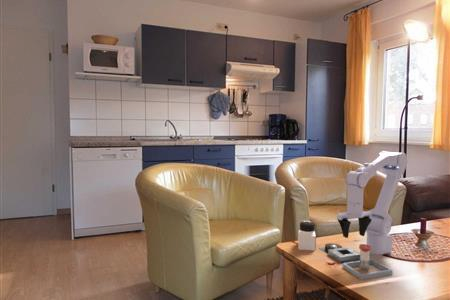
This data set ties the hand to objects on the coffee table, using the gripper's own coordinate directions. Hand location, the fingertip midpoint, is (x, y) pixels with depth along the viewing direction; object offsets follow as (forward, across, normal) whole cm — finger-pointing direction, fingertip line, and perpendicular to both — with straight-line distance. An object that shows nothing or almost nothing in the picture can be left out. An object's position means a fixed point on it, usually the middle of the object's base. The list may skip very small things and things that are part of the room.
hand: (353, 236), depth 131 cm
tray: (+10, -2, -10) cm, 15 cm away
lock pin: (+10, -2, -8) cm, 13 cm away
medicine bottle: (+11, -10, +17) cm, 23 cm away
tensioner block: (+10, -2, +6) cm, 12 cm away
